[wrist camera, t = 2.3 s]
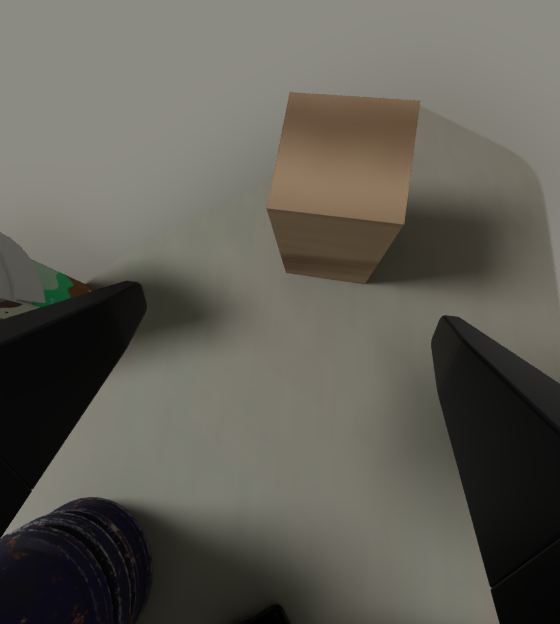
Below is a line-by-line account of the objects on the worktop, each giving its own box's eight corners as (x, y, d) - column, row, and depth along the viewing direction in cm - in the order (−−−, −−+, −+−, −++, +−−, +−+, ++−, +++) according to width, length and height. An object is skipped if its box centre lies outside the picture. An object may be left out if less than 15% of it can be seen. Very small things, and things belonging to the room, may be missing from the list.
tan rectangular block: (364, 284, 23) (404, 224, 13) (286, 272, 24) (266, 208, 14) (375, 209, 24) (420, 100, 14) (299, 201, 24) (289, 92, 15)
